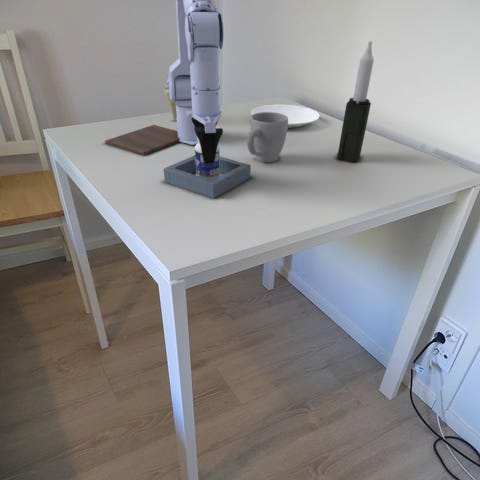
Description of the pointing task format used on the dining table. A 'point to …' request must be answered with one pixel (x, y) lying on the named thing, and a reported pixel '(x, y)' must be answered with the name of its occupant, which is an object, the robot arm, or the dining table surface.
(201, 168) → the pill bottle
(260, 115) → the mug
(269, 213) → the dining table surface
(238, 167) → the square frame
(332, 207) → the dining table surface
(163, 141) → the board
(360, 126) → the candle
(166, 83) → the ice cream cone
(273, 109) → the plate
